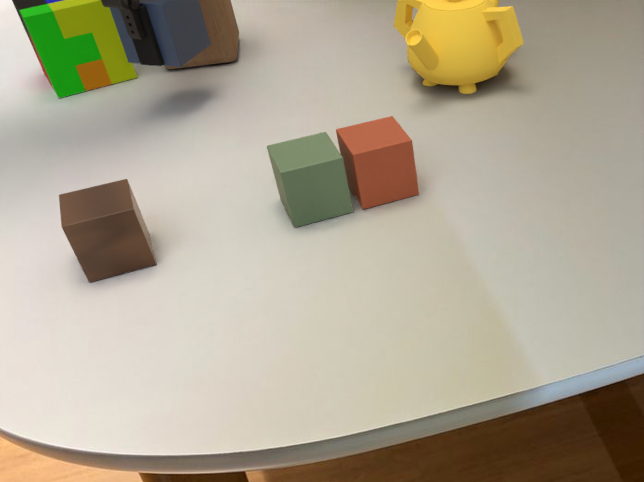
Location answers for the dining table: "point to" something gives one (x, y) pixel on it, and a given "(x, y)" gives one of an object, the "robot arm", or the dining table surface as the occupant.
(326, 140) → the row block mid
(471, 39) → the teapot
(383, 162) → the row block far
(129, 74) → the puzzle toy
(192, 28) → the slate blue cube
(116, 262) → the row block near
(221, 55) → the wooden block
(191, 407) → the dining table surface
